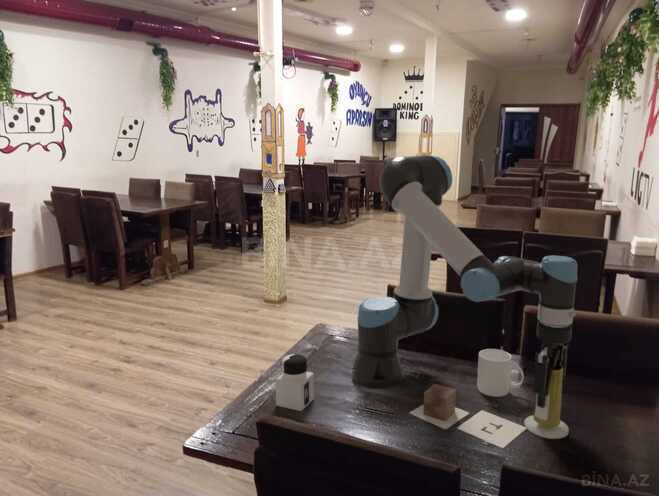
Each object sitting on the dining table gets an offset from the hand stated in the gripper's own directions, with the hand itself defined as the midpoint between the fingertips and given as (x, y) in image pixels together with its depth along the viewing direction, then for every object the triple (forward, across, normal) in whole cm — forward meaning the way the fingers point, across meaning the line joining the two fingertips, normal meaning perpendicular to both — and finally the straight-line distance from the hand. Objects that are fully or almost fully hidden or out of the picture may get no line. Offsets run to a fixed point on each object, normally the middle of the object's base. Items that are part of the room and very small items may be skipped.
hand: (547, 413), depth 125 cm
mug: (+4, +9, +17) cm, 20 cm away
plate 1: (+4, -13, +22) cm, 26 cm away
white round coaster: (+4, 0, 0) cm, 4 cm away
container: (+4, -35, +53) cm, 64 cm away
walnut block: (+3, -13, +22) cm, 26 cm away
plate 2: (+4, -10, +9) cm, 14 cm away
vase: (+2, 0, 0) cm, 2 cm away
